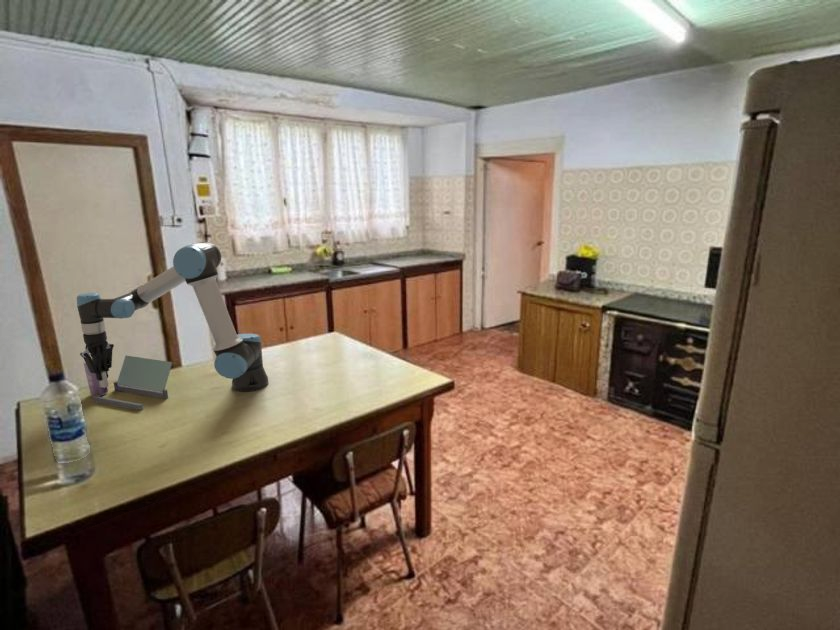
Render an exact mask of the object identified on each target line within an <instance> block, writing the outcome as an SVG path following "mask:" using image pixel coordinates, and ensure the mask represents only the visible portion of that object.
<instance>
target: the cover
mask: <svg viewBox="0 0 840 630" xmlns="http://www.w3.org/2000/svg"><path fill="white" fill-rule="evenodd" d="M172 366H173V362H172V361H166V360H159V359H154V358H145V357H138V356H132V355H125V356H124V359H123V362H122V365H121V369H120V372H119V376H118V379H117V381H116V382H117V385H122V386H128V387H134V388H140V389H146V390H152V391H158V392H163V390H166V386H167V383H168V380H169V376H170V372H171V368H172Z"/></svg>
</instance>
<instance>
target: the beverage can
mask: <svg viewBox="0 0 840 630" xmlns="http://www.w3.org/2000/svg"><path fill="white" fill-rule="evenodd" d="M83 367H84V371H85V375H86V379H87V384H88V388H89V393H90V396H91V397H93V396H99V397H102V396H104V395H106V394H108V387H106V388H103V387H100V384H99V381H98V380H97V377H96V373H90V371H89V369H88V366H87V364H86V362H85V360H83Z"/></svg>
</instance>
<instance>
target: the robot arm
mask: <svg viewBox="0 0 840 630" xmlns="http://www.w3.org/2000/svg"><path fill="white" fill-rule="evenodd" d="M221 262H222V253H221V251H220V249H219V248H218V247H217V246H216V245H215V244H214V243H210V242H206V241H202V242H197V243H193V244H187V245H185V246H183V247H181V248H179V249H178V250H177V251H176V252H175V253H174V256H173V258H172V266H171V267H170V268H168V269H167V270H165V271H163V272H162V273H160V274H159V275H157V276H155V277H153V278H152V279H150V280H149V281H147V282H145V283H144V284H142V285H140V286H139V287H137V288H136V289H134V290H132V291H130V292H128V293H126V294H123V295H121V296H120V295H119V296H118V297H115V298H101V296H100V294H99V293H97V292H87V293H80V294H79V295H77V296H76V307H77V311H78V316H79V318H80V319H79V320H80V326H81V331H82V333H83V334H82V337H83V342H84V344H85V348H84V349H85V350H84V351H83V352H80V353H79V356H81V357H82V358H83V359H84V360H83V361H85V362H86V364H87V366H88V369H89V371H90V373H96V377H97V380H98V381H99V384H100V387H103V388H106V387H107V388H108V387H109V382H108V381H109V380H108V378H109V371H110V368H112V367H113V349H114V346H115V345H114V344H113V343H108V341H107V339H108V337H107V331H106V326H105V325H106V324H105V319H129V318H131V317H132V316H133V315H134V313H135V312H136V311H137V310H141V309H144V308H145V307H147V306H148V305H149V304H150V303H151V302H154V301H155V300H157V299H159V298H160V297H162V296H163V295H165V294H167V293H169V292H170V291H171V290H174V289H176V288H178V287H179V286H180V285H182V284H183V283H185V282H186V284H187V285H188V286H190V287H192V289H193V290H194V293H195V296H196V298H197V301H198V303H199V305H200V309H201V310H202V314H203V316H204V319H205V320H206V323H207V326H208V328H209V331H210V333H211V336H212V338H213V341H214V343H215V345H214V347H213V352H214V354H215V360H214V363H213V364H214V369H215V371H216V372H217V374H218V375H220V376H221V377H224V378H225V379H231V388H232V389H233V390H235V391H239V392H252V390H254V391H256V390H257V389H258V390H260V388H261V389H263V388H265V387H266V386H268V384H269V377H268V375H267V373H266V370H265V368H264V364H263V363H264V362H263V350H262V341H261V340H262V339H261V336H260V335H259V334H256V333H239V334H237V332H236V328H235V325H234V324H233V321H232V318H231V316H230V313H229V310H228V309H227V306H226V303H225V300H224V298H223V296H222V293H221V290H220V287H219V284H218V282H217V278H218V276H219V273H218V270H217V268H219V266H220V264H221ZM264 386H265V387H264ZM262 387H263V388H262Z"/></svg>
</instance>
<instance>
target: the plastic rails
mask: <svg viewBox="0 0 840 630" xmlns="http://www.w3.org/2000/svg"><path fill="white" fill-rule="evenodd" d="M117 382H118V381H114V382H113V387H114V391H116V392H117V391H119V392H122V393H123V392H124V393H127V394H129V393H130V394H133V395H134V394H135V395H140V396H146V397H152V398H158V399H163V400H167V399H169V393H168V389H165V390H163V392H158V391H152V390H146V389H140V388H134V387H128V386H122V385H117ZM92 401H93V403H97V404H104V405H109V406H114V407H120V408H125V409H131V410H136V411H142V410H143V409H144V408H143V404H142V403H136V402H132V401H127V400H120V399H114V398H111V397H110V398H108V397H103V396H92Z"/></svg>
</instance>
